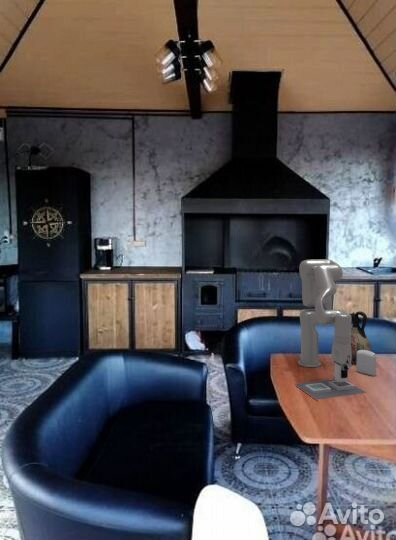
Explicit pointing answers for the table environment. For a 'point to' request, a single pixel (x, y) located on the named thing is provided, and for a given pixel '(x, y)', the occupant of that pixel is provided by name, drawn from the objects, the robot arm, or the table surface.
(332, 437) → the table surface
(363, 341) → the ceramic jug
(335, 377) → the plug
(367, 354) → the photo printer
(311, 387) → the dock board
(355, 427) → the table surface
